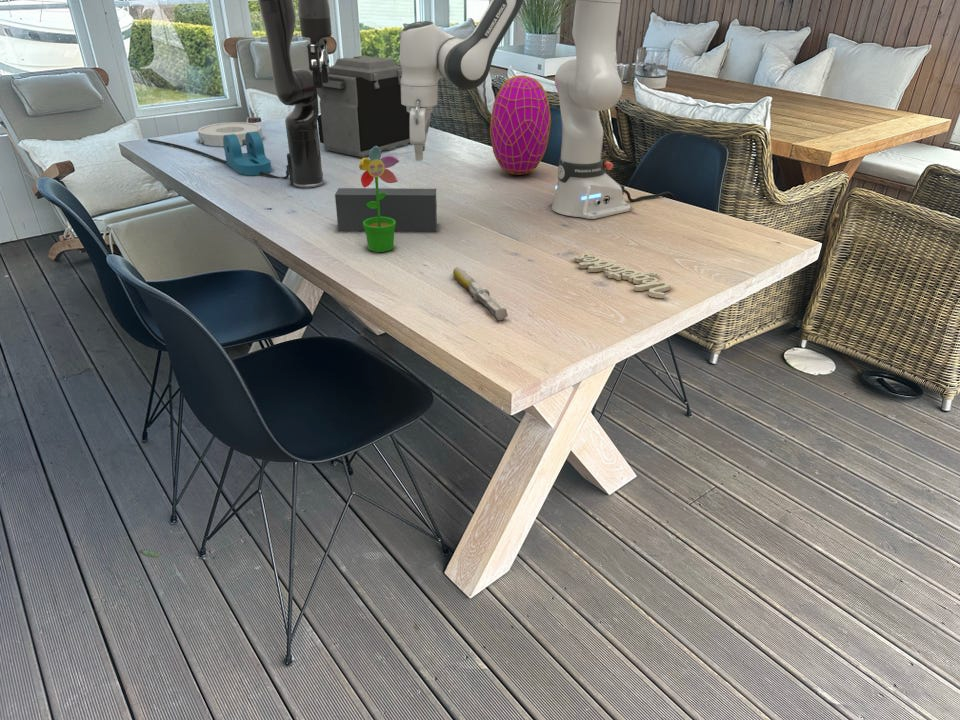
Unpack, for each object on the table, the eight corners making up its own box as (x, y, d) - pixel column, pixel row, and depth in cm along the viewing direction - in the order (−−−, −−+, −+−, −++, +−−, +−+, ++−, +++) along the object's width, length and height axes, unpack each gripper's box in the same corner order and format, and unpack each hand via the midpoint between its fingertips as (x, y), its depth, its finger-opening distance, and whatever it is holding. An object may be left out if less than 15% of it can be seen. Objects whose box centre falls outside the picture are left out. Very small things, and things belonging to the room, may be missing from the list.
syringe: (449, 274, 155) (449, 263, 153) (465, 272, 156) (464, 260, 154) (490, 323, 135) (491, 310, 133) (508, 319, 136) (508, 307, 134)
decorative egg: (522, 185, 216) (526, 83, 200) (477, 173, 227) (478, 76, 212) (559, 173, 228) (566, 76, 213) (514, 162, 239) (517, 70, 224)
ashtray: (212, 132, 275) (211, 121, 273) (270, 133, 274) (268, 122, 272) (190, 145, 255) (187, 134, 253) (251, 147, 254) (250, 135, 252)
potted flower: (369, 256, 164) (361, 149, 151) (358, 245, 170) (349, 142, 157) (406, 249, 167) (401, 145, 155) (394, 239, 173) (388, 138, 161)
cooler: (383, 133, 276) (378, 52, 261) (425, 141, 265) (422, 56, 250) (314, 150, 251) (304, 61, 235) (358, 160, 240) (350, 67, 224)
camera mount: (227, 164, 233) (221, 132, 227) (257, 160, 238) (252, 129, 233) (244, 176, 220) (239, 143, 215) (276, 172, 225) (271, 139, 220)
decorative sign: (686, 282, 150) (660, 295, 144) (686, 286, 150) (659, 300, 144) (592, 249, 166) (565, 259, 160) (592, 253, 167) (565, 263, 161)
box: (338, 231, 178) (334, 194, 173) (341, 224, 183) (338, 187, 178) (436, 232, 179) (435, 195, 174) (436, 224, 184) (436, 188, 179)
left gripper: (324, 18, 164) (331, 90, 172) (334, 13, 176) (340, 81, 185) (293, 17, 164) (301, 89, 172) (305, 13, 176) (312, 80, 184)
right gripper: (430, 105, 156) (431, 166, 163) (434, 90, 173) (434, 146, 180) (402, 104, 155) (404, 165, 162) (409, 89, 173) (410, 145, 180)
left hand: (321, 85), depth 178 cm, fingers open, 8 cm apart
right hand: (420, 155), depth 171 cm, fingers open, 8 cm apart
